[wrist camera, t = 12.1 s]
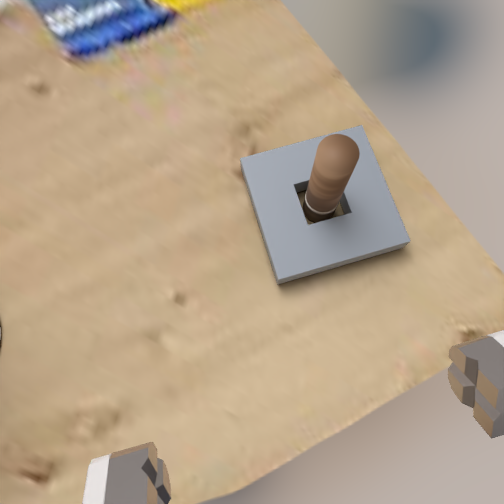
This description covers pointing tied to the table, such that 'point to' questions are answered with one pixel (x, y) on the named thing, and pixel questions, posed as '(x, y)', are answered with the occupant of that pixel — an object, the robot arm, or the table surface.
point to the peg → (329, 176)
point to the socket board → (328, 231)
